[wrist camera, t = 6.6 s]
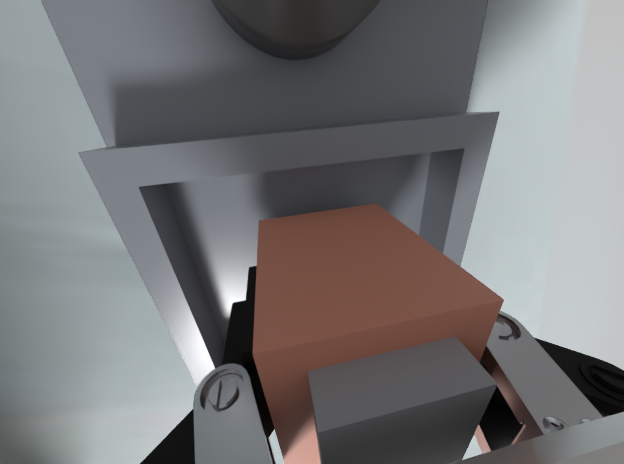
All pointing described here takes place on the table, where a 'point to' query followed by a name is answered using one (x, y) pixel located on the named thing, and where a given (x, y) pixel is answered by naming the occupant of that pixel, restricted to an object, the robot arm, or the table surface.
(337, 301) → the pink and grey block
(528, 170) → the table surface
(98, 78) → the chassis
